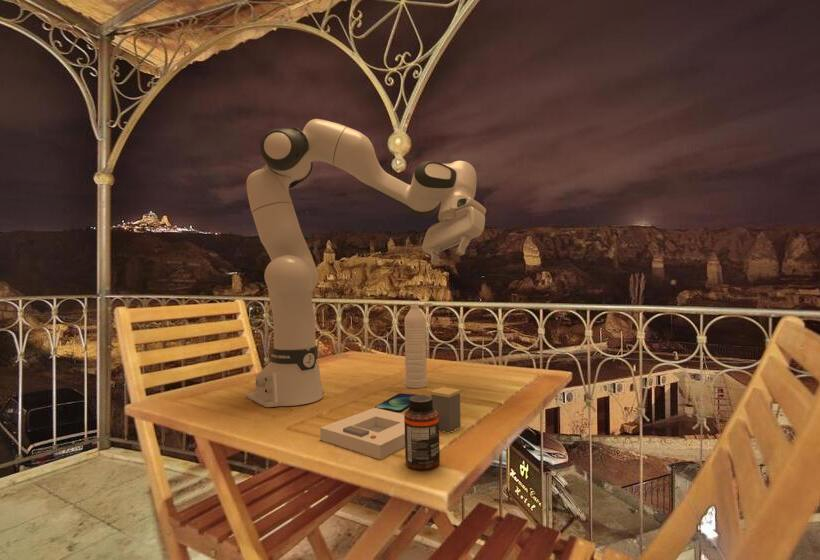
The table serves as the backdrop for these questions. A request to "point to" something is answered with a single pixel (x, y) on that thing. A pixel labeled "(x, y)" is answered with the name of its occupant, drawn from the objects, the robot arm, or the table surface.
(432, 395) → the plug
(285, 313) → the robot arm
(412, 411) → the supplement bottle
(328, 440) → the socket plate
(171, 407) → the table surface
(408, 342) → the water bottle
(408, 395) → the smartphone
